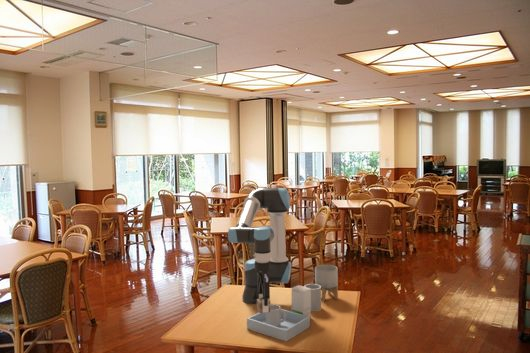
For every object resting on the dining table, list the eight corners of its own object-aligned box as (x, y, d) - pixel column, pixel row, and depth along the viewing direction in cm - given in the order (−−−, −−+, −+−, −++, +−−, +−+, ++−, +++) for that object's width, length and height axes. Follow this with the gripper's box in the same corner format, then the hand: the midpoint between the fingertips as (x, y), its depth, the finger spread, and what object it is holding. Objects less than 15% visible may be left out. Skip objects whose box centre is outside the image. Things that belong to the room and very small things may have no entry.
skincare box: (291, 317, 223) (290, 287, 222) (299, 313, 228) (298, 284, 227) (303, 321, 217) (303, 291, 216) (311, 317, 222) (311, 287, 221)
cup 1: (266, 322, 215) (265, 304, 215) (286, 321, 215) (285, 304, 214) (265, 328, 208) (265, 310, 208) (286, 328, 208) (286, 310, 207)
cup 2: (319, 312, 229) (319, 290, 228) (302, 310, 232) (302, 288, 231) (322, 306, 237) (322, 284, 236) (306, 304, 240) (306, 283, 239)
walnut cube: (267, 308, 204) (266, 297, 204) (270, 311, 199) (269, 301, 199) (256, 309, 203) (256, 299, 202) (259, 313, 198) (259, 302, 198)
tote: (271, 315, 225) (271, 306, 225) (309, 326, 211) (309, 316, 210) (247, 328, 210) (246, 318, 210) (286, 341, 195) (286, 330, 195)
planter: (334, 303, 241) (334, 272, 240) (312, 300, 247) (311, 269, 245) (340, 295, 253) (340, 265, 252) (319, 292, 258) (319, 263, 257)
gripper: (250, 256, 207) (251, 303, 209) (260, 266, 190) (261, 318, 191) (265, 255, 209) (266, 302, 211) (276, 265, 192) (277, 316, 193)
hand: (263, 309), depth 201 cm, fingers closed on walnut cube, 5 cm apart
